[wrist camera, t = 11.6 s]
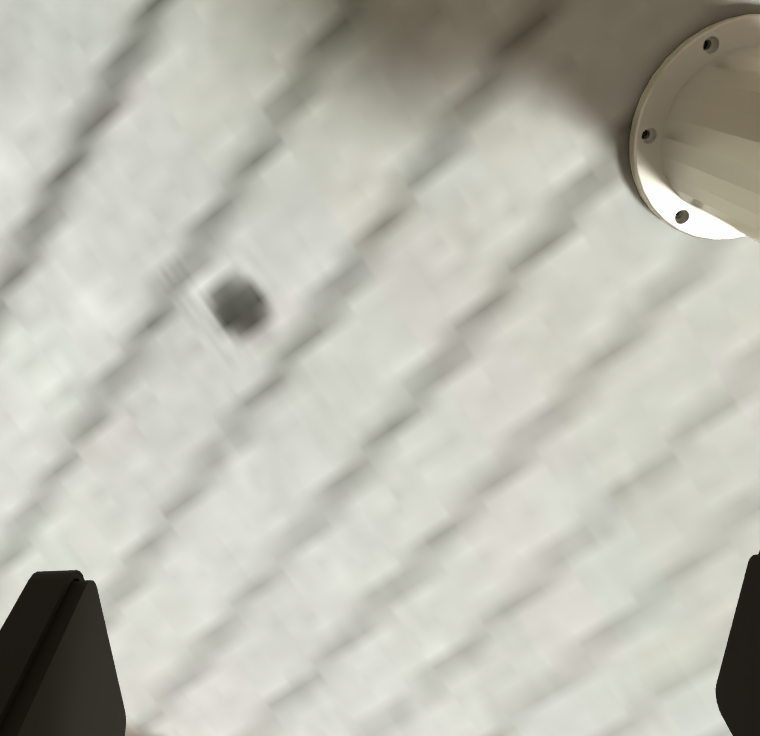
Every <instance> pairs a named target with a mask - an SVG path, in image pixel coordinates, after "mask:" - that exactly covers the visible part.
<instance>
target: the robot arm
mask: <svg viewBox="0 0 760 736" xmlns="http://www.w3.org/2000/svg"><path fill="white" fill-rule="evenodd" d="M705 40H707V42H708V45H707V47H706V48H705V49H704V50H703V44H704V42H705ZM645 130H647V135H646V137H645V138H642V137H641V136H642V133H643V131H645ZM629 160H630V165H631V170H632V175H633V180H634V182H635V184H636V187H637V189H638V191H639V194H640V196H641V197H642V199H643V200H644V202H645V203H646V204H647V206H648V207H649V209H650V210H651V211H652V212H653V213H654V214H655V215H657V216H658V217H659V218H660V219H661V220H662V221H663V222H665V223H666V224H668V225H669V226H671V227H673V228H674V229H676V230H678V231H680V232H683V233H685V234H688V235H690V236H693V237H697V238H703V239H709V240H731V239H736V238H741V237H746V236H748V237H750V238H752V239H754V240H755V241H757V242H759V243H760V14H746V15H742V16H737V17H733V18H728V19H724V20H722V21H720V22H717V23H715V24H713V25H710V26H708V27H706V28H704V29H702V30H701V31H699V32H698V33H696V34H695V35H693V36H692V37H690V38H688V39H687V40H685V41H684V42H683V43H682V44H681V45H680V46H679V47H678V48H676V49H675V50H674V51H673V52H672V53H671V54H670V55H669V56H668V57H667V58H666V59H665V60H664V62H663V63H662V64H661V65H660V67H659V68H658V69H657V71H656V72H655V73H654V74H653V76H652V77H651V79H650V81H649V83H648V84H647V86H646V88H645V90H644V92H643V93H642V95H641V97H640V100H639V103H638V106H637V108H636V111H635V114H634V117H633V121H632V127H631V132H630V138H629ZM679 211H680V213H679V215H678V216H677V217H675V216H676V213H677V212H679ZM716 699H717V704H718V707H719V710H720V712H721V715H722V717H723V718H724V720H725V722H726V724H727V726H728V728H729V729H730V731H731V733H732V735H733V736H760V551H759V554H758V555H753V556H752V557H751V558H750V560H749V562H748V565H747V569H746V573H745V577H744V581H743V584H742V588H741V592H740V596H739V600H738V604H737V607H736V611H735V615H734V619H733V623H732V627H731V630H730V634H729V638H728V642H727V646H726V650H725V653H724V657H723V661H722V665H721V669H720V673H719V676H718V680H717V684H716ZM125 729H126V715H125V709H124V705H123V700H122V696H121V691H120V687H119V683H118V678H117V674H116V669H115V665H114V660H113V656H112V652H111V647H110V643H109V638H108V634H107V630H106V625H105V621H104V616H103V612H102V608H101V603H100V599H99V594H98V590H97V586H96V583H95V582H94V581H92V580H86V581H85V580H84V578H83V575H82V573H81V572H80V571H77V570H68V571H42V572H36V573H34V574H33V575H32V576H31V578H30V579H29V580H28V582H27V584H26V586H25V588H24V589H23V591H22V593H21V595H20V596H19V598H18V600H17V602H16V603H15V605H14V607H13V609H12V610H11V612H10V614H9V616H8V618H7V619H6V621H5V623H4V625H3V626H2V628H1V630H0V736H125Z"/></svg>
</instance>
